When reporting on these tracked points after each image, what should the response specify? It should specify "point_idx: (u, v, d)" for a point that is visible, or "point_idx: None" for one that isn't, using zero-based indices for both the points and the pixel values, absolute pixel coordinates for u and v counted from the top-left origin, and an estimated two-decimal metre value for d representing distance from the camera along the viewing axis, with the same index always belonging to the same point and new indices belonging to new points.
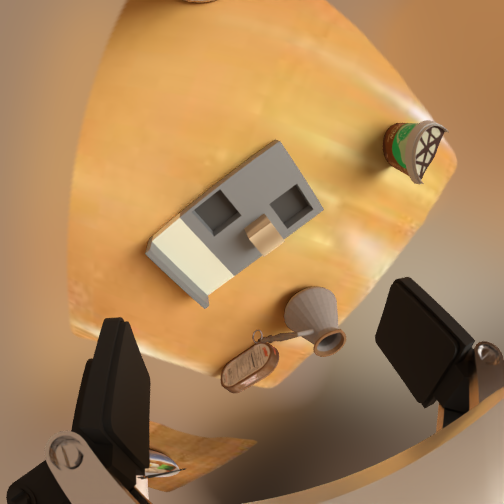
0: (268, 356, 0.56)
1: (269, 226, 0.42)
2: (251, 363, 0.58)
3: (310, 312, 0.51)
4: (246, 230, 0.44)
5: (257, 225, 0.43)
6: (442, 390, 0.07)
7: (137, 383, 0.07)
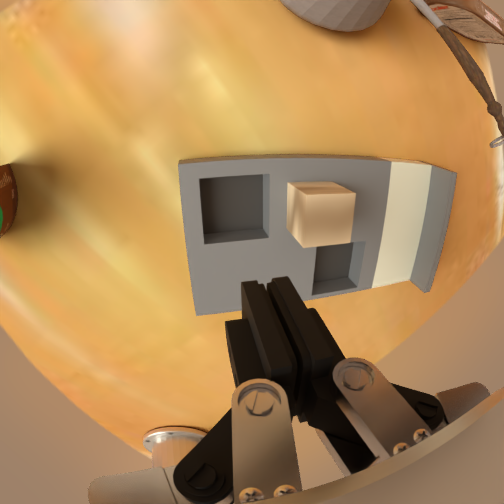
0: (449, 5, 0.13)
1: (310, 241, 0.21)
2: (463, 19, 0.15)
3: None
4: None
5: None
6: (307, 406, 0.07)
7: None
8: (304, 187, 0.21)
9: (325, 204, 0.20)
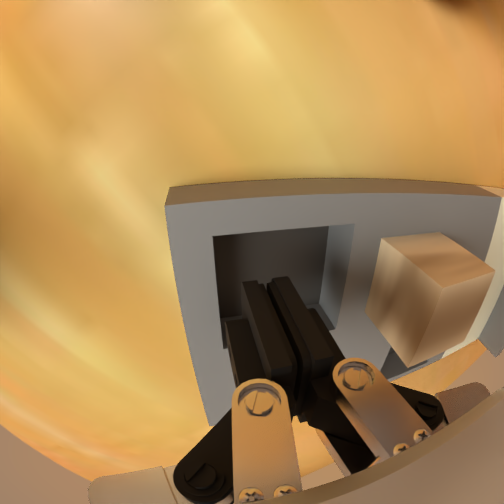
0: None
1: (420, 357, 0.10)
2: None
3: None
4: None
5: None
6: (307, 406, 0.07)
7: None
8: (420, 257, 0.10)
9: (460, 297, 0.08)
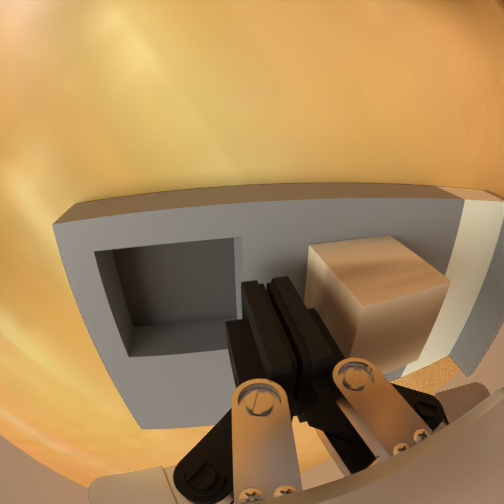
0: None
1: None
2: None
3: None
4: None
5: None
6: (307, 407, 0.07)
7: None
8: (349, 266, 0.09)
9: (396, 315, 0.08)
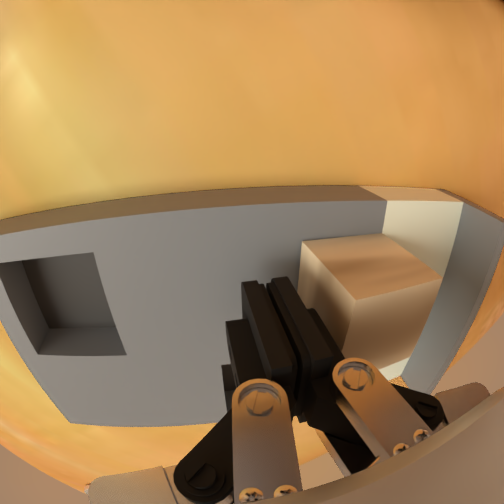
0: None
1: None
2: None
3: None
4: None
5: None
6: (306, 407, 0.07)
7: None
8: (341, 262, 0.09)
9: (389, 310, 0.08)
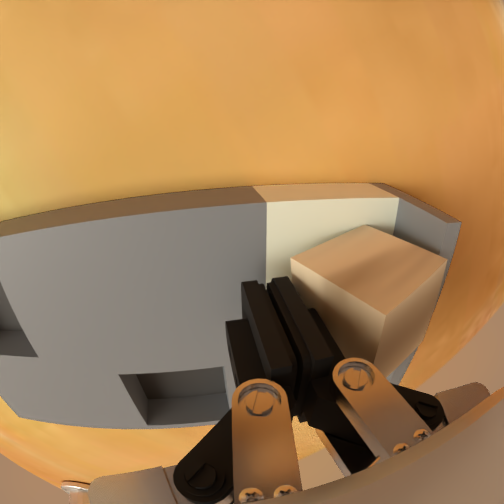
0: None
1: None
2: None
3: None
4: None
5: None
6: (307, 407, 0.07)
7: None
8: (346, 272, 0.08)
9: (410, 310, 0.07)
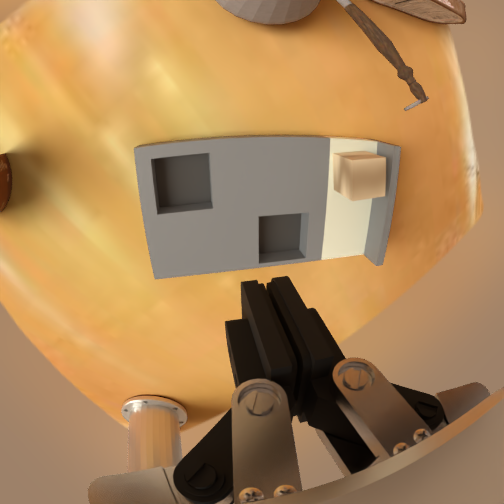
0: None
1: (356, 196, 0.25)
2: (411, 1, 0.18)
3: None
4: None
5: None
6: (307, 407, 0.07)
7: None
8: (347, 155, 0.25)
9: (365, 166, 0.24)
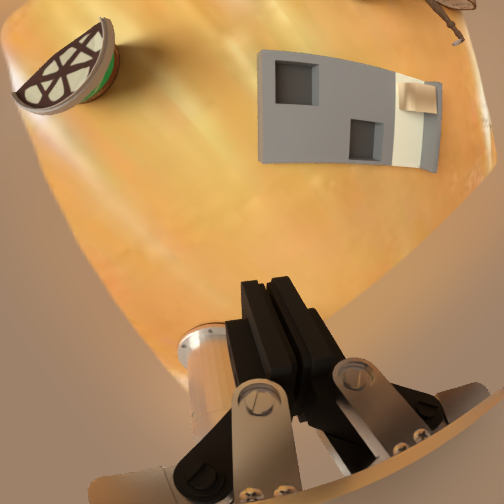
0: None
1: (420, 108, 0.28)
2: None
3: None
4: None
5: None
6: (307, 407, 0.07)
7: None
8: (409, 83, 0.28)
9: (423, 89, 0.27)
